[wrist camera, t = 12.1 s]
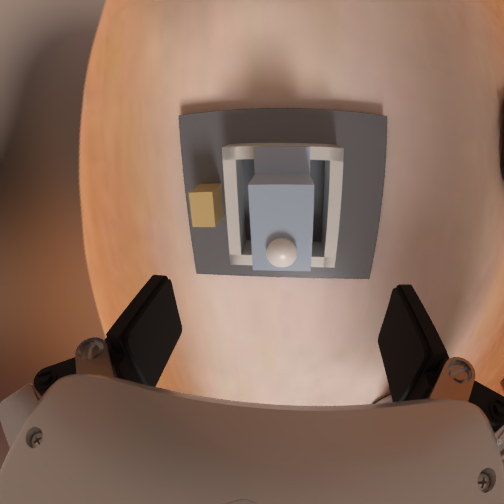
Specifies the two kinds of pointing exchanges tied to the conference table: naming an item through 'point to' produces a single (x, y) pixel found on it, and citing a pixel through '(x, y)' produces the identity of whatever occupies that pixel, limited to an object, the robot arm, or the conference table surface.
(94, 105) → the conference table surface
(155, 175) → the conference table surface
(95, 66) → the conference table surface
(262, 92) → the conference table surface
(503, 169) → the cable
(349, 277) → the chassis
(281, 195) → the block
